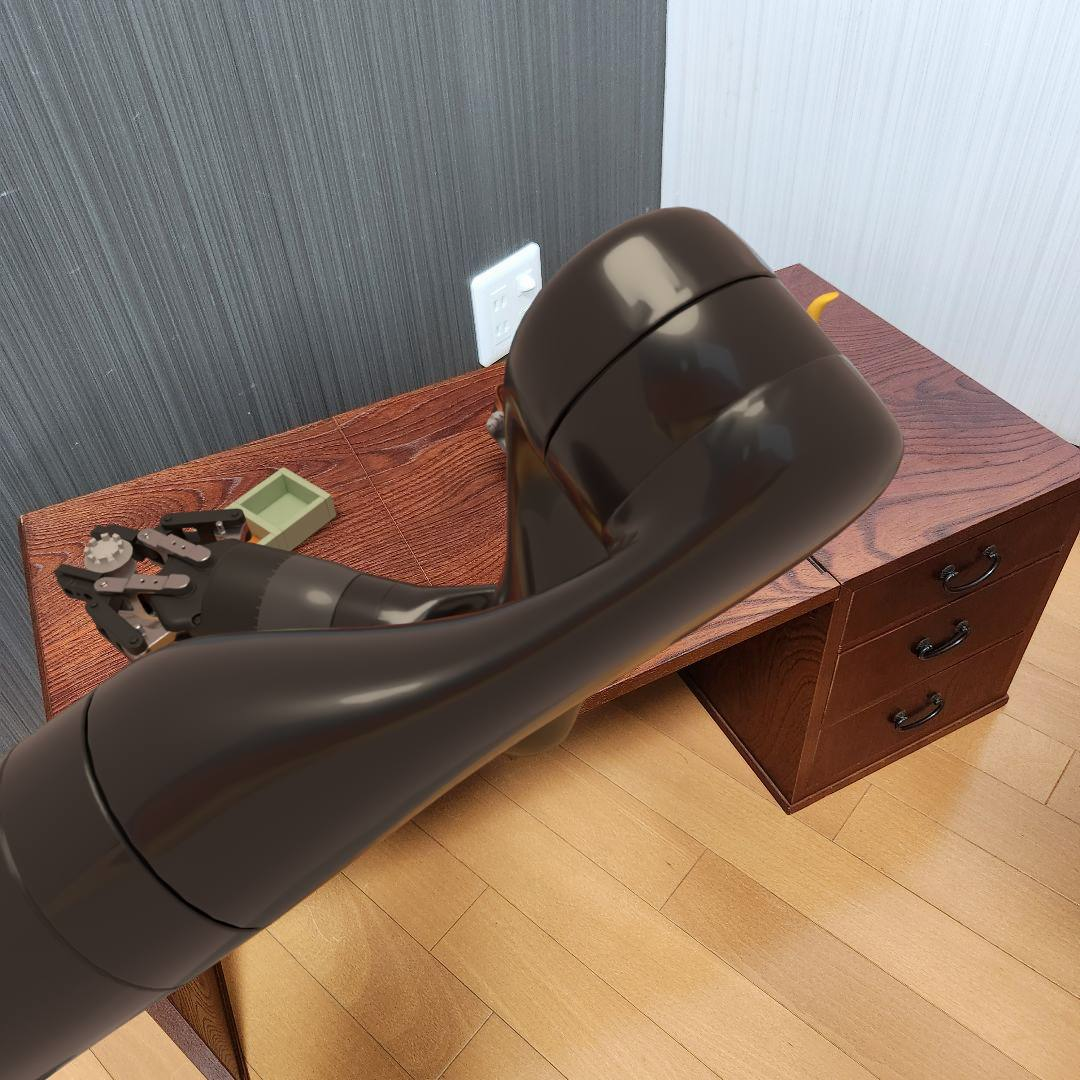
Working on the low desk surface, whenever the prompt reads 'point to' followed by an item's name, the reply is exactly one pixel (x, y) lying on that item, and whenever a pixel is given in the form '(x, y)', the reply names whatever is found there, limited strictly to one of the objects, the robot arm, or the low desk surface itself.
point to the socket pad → (285, 510)
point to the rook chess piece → (114, 565)
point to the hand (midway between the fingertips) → (80, 557)
